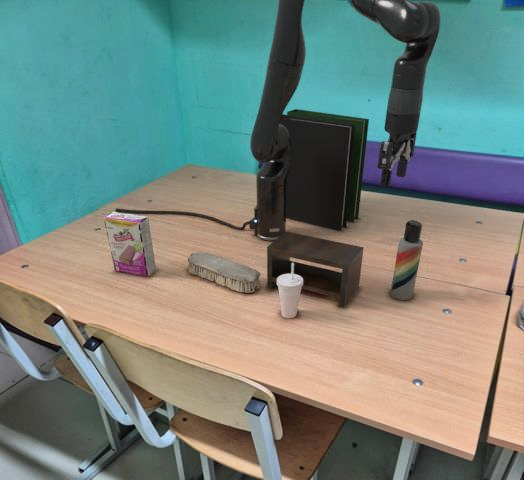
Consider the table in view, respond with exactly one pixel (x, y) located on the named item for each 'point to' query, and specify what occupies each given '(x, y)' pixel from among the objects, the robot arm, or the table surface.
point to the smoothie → (289, 293)
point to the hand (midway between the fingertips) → (392, 181)
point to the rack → (319, 253)
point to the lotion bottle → (407, 261)
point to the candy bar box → (130, 243)
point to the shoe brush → (224, 272)
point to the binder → (324, 167)
